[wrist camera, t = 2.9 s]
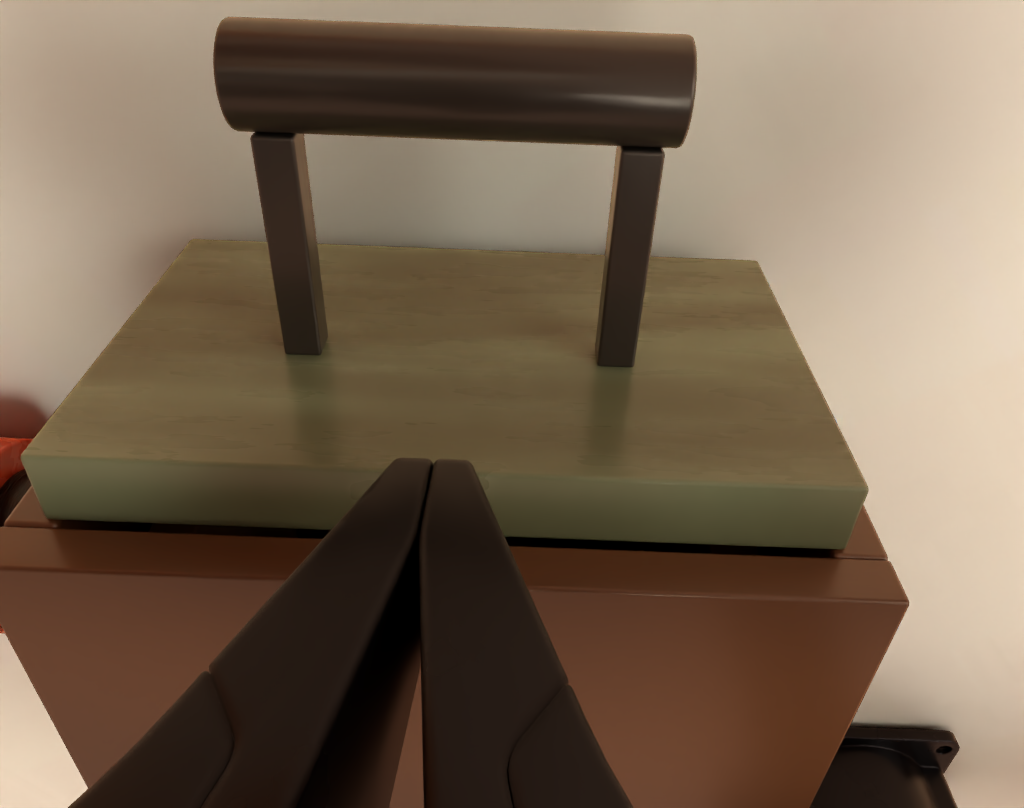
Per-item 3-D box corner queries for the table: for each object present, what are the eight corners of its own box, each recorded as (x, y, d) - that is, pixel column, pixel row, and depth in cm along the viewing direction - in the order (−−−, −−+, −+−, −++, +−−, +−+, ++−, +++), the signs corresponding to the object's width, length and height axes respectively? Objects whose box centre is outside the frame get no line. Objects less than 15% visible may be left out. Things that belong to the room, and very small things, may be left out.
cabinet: (188, 269, 18) (-34, 567, 11) (764, 291, 18) (911, 603, 11) (276, 655, 26) (182, 966, 19) (672, 670, 26) (722, 986, 19)
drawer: (130, -38, 13) (-150, 71, 8) (821, -11, 13) (1020, 116, 8) (278, 632, 24) (201, 881, 18) (667, 648, 24) (707, 900, 18)
